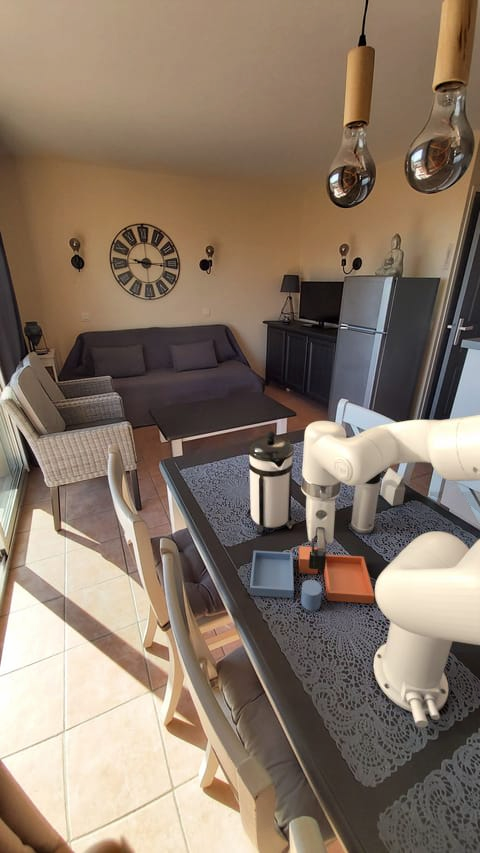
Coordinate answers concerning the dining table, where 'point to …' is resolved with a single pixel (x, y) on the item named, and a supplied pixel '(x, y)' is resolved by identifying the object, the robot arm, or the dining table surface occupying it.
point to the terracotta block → (305, 560)
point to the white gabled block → (392, 488)
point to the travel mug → (365, 505)
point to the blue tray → (272, 574)
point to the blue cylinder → (311, 595)
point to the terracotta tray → (347, 579)
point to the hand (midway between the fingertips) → (314, 550)
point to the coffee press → (270, 481)
